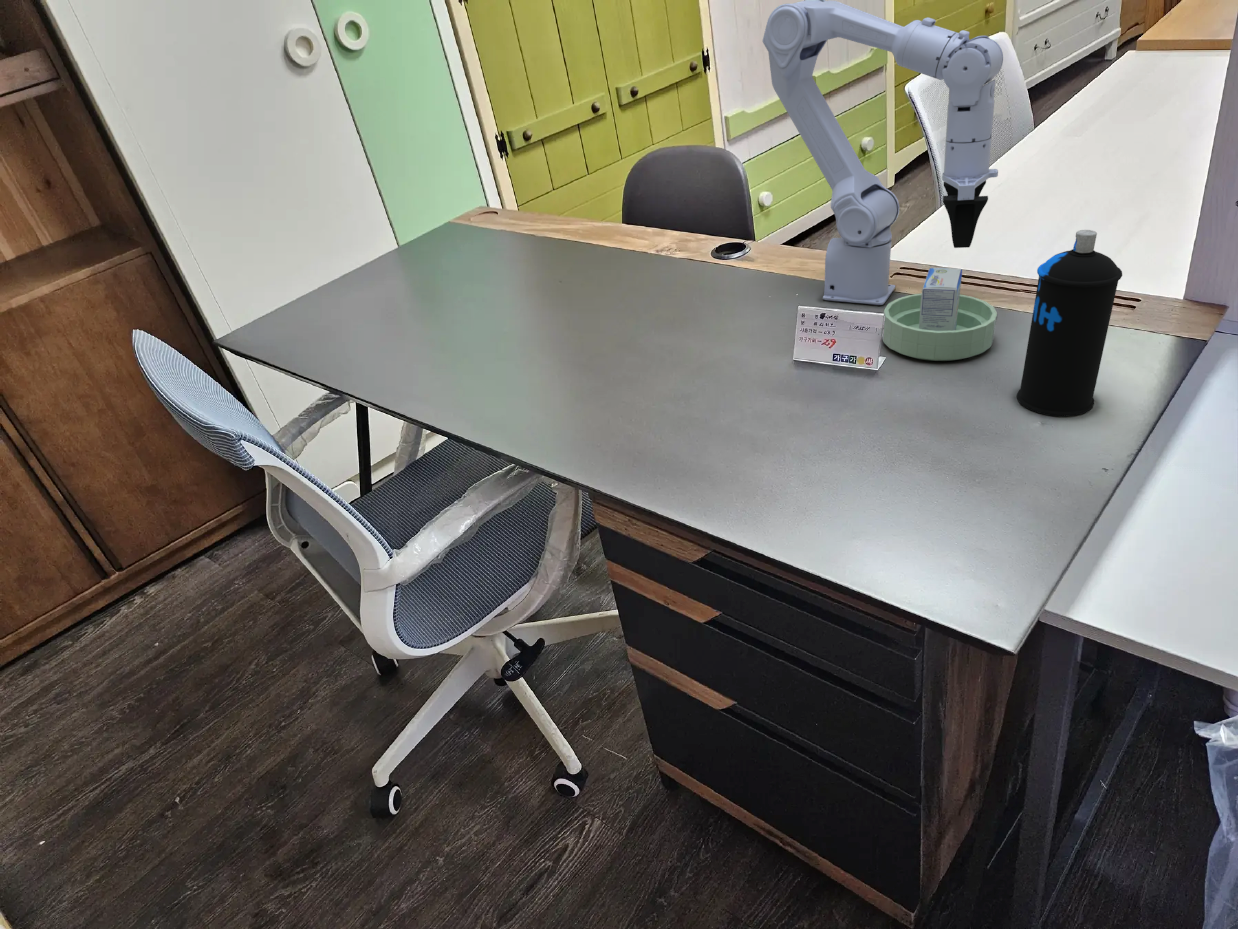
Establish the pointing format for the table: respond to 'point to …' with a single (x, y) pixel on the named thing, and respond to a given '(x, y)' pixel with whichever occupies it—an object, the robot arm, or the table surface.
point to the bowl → (939, 345)
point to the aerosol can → (1068, 329)
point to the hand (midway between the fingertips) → (961, 238)
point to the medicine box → (940, 299)
